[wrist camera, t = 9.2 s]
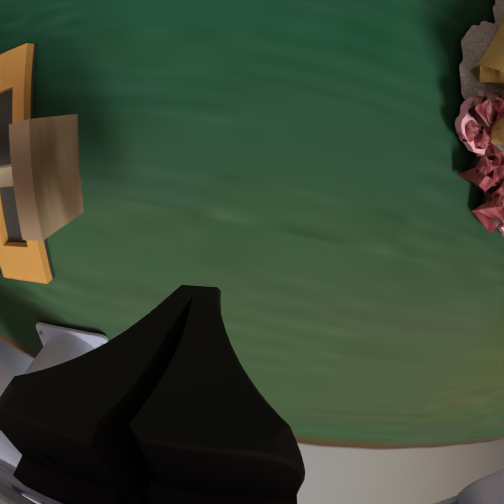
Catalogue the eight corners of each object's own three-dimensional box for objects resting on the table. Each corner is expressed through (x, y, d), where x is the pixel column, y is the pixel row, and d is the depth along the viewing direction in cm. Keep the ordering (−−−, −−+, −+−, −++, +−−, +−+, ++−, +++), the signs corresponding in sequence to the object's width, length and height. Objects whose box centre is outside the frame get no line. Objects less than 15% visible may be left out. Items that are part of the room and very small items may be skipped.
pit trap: (55, 276, 21) (47, 283, 20) (11, 270, 21) (3, 277, 20) (37, 44, 14) (27, 42, 13) (-10, 64, 14) (-19, 63, 13)
